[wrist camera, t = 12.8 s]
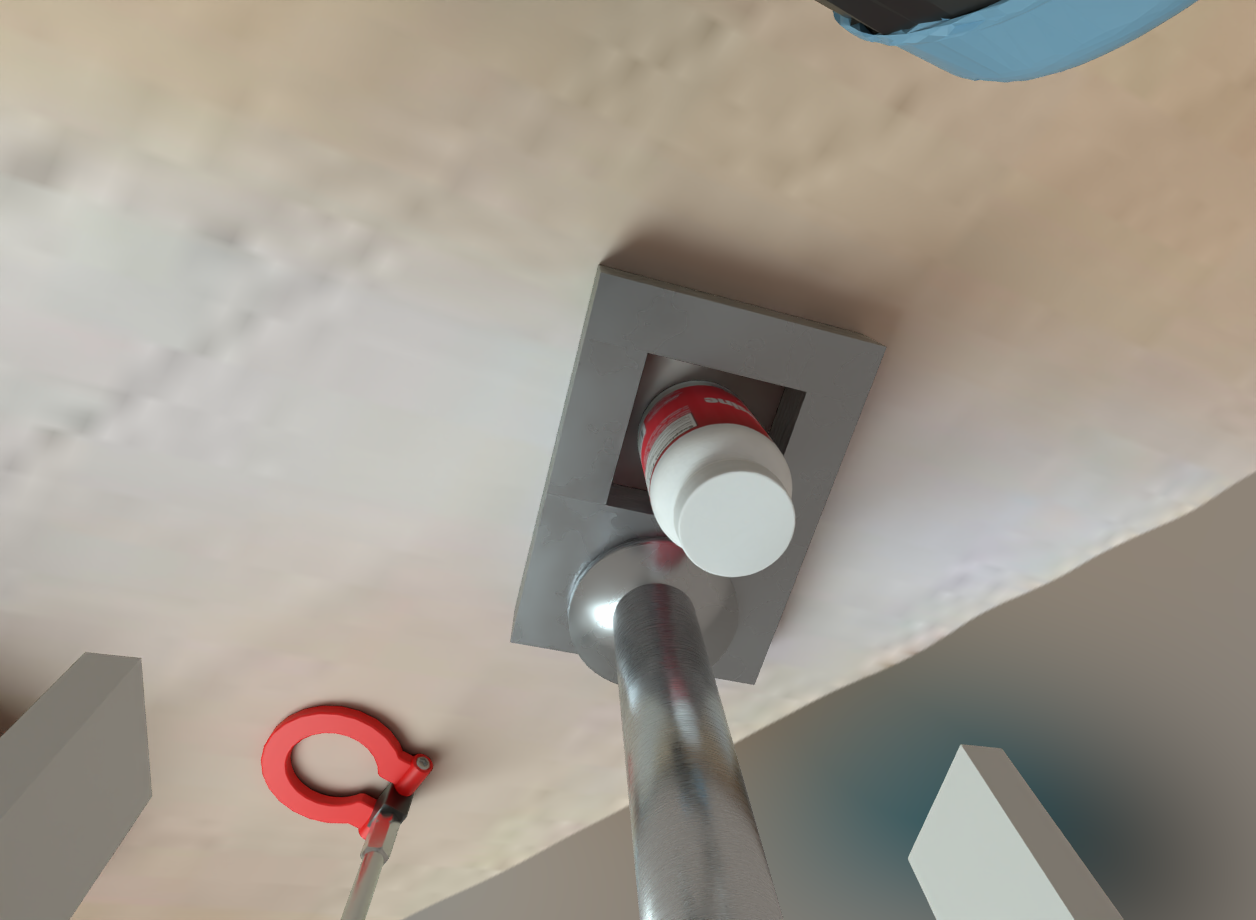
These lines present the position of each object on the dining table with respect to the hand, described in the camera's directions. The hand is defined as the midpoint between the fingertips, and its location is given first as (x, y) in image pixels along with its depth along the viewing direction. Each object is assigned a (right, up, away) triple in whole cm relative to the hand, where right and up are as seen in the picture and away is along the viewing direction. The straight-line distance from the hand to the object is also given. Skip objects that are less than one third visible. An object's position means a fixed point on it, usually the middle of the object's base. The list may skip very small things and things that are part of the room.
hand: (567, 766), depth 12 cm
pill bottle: (+4, +7, +27) cm, 28 cm away
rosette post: (+4, +3, +28) cm, 28 cm away
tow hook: (-17, -14, +33) cm, 40 cm away
